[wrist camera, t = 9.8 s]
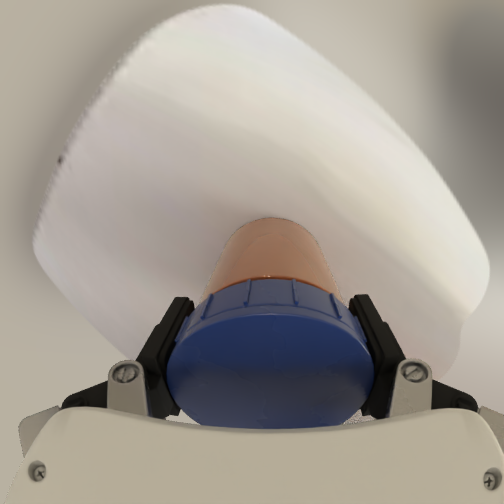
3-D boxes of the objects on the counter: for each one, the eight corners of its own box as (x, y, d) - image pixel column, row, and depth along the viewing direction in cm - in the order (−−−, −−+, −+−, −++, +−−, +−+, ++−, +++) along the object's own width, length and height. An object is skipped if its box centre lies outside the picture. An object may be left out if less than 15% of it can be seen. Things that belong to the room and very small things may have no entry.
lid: (165, 276, 8) (141, 307, 7) (377, 275, 8) (399, 307, 6) (196, 405, 11) (187, 437, 9) (343, 406, 10) (349, 438, 9)
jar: (342, 248, 16) (399, 345, 8) (290, 324, 18) (297, 437, 10) (249, 198, 15) (221, 262, 7) (205, 285, 18) (159, 391, 9)
